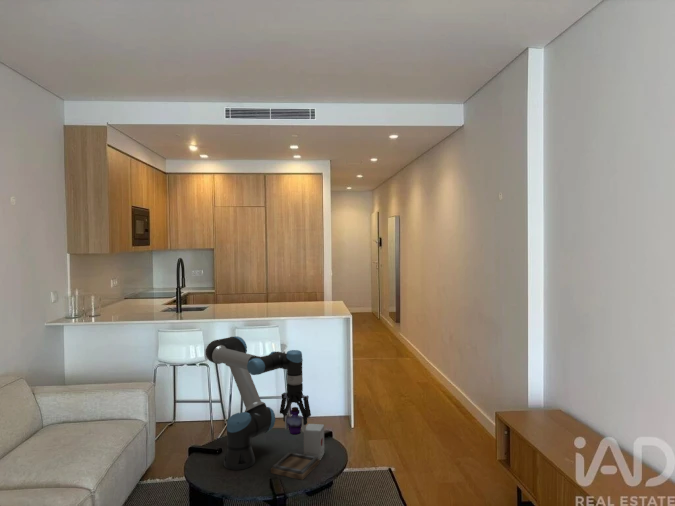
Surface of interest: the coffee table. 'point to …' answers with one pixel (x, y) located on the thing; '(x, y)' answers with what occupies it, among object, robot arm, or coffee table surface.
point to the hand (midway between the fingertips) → (295, 429)
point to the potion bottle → (294, 421)
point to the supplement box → (314, 440)
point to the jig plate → (295, 465)
